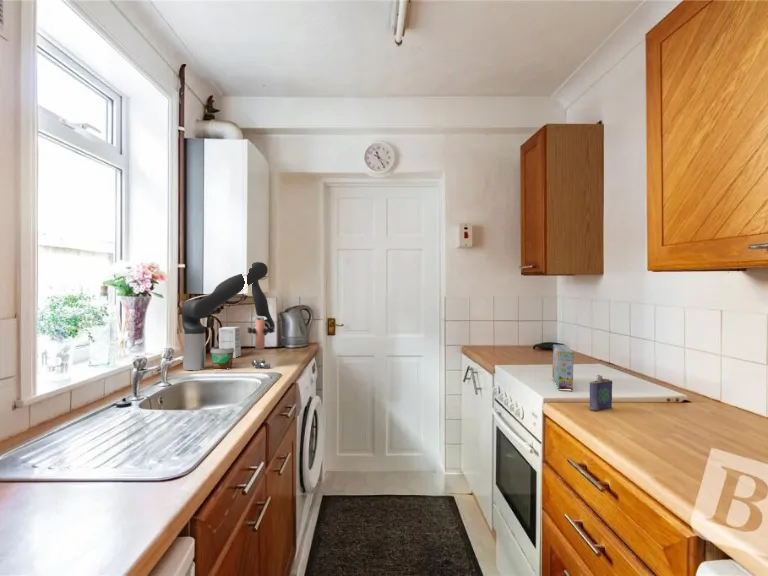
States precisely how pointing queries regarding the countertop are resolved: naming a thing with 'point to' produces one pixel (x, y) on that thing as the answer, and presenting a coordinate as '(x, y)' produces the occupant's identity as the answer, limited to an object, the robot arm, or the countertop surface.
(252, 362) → the shaft
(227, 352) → the food container
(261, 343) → the pink capped rod
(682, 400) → the countertop surface
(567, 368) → the snack box
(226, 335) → the supplement box
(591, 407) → the flask
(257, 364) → the shaft
